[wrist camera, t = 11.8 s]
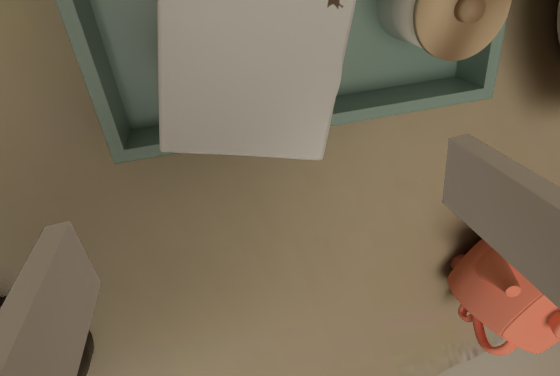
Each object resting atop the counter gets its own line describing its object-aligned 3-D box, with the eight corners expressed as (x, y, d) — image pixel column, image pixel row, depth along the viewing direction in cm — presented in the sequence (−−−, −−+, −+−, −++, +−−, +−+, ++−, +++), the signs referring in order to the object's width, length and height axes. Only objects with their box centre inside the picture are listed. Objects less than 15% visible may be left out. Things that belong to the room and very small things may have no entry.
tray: (124, 139, 34) (114, 163, 30) (51, -79, 26) (23, -87, 22) (458, 82, 38) (492, 97, 34) (486, -124, 30) (535, -139, 26)
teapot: (439, 218, 46) (514, 295, 36) (563, 193, 48) (669, 259, 38) (426, 306, 54) (484, 391, 43) (534, 281, 56) (615, 357, 45)
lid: (409, 65, 28) (420, 70, 27) (417, -45, 24) (431, -46, 23) (495, 52, 29) (510, 57, 27) (516, -56, 25) (534, -57, 24)
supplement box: (170, -49, 28) (152, -60, 15) (292, -29, 30) (367, -23, 17) (169, 79, 32) (154, 156, 19) (276, 89, 34) (326, 164, 21)
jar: (375, 44, 34) (415, 61, 28) (377, -35, 31) (422, -35, 25) (440, 34, 34) (491, 49, 29) (448, -44, 31) (508, -46, 25)
